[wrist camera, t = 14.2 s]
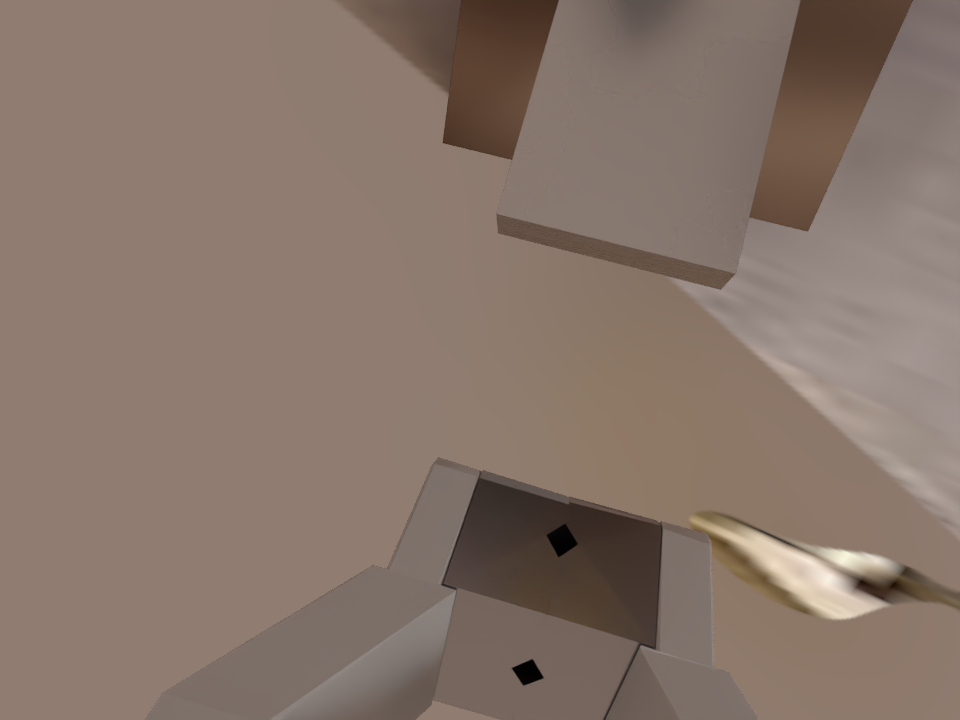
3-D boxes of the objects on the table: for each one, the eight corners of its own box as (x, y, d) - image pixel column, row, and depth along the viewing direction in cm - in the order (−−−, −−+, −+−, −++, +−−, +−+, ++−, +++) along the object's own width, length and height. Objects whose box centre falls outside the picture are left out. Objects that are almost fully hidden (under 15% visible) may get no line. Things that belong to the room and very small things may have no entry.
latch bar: (628, -216, 19) (636, -263, 18) (832, -177, 18) (853, -223, 17) (497, 233, 17) (496, 214, 16) (720, 289, 17) (735, 273, 15)
